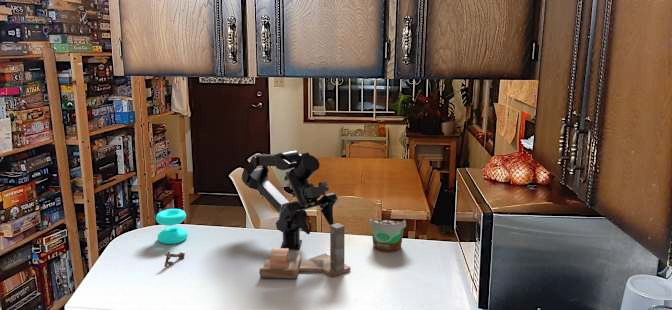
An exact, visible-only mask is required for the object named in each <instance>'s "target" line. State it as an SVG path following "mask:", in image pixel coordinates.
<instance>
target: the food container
mask: <svg viewBox="0 0 672 310" xmlns="http://www.w3.org/2000/svg"><path fill="white" fill-rule="evenodd" d="M368 224H369V226H370V227H371V237H372V245H373V248H374V250H376V251H378V252H382V253H394V252H397V251H399V250H400V249H401V248H402V244H403V237H404V229H405V228H406V227H407V221H406V219H404V220H402V221H395V220H392V219H381V220H379V219H372V218H370V219H369V222H368Z"/></svg>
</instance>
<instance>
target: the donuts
mask: <svg viewBox="0 0 672 310" xmlns="http://www.w3.org/2000/svg"><path fill="white" fill-rule="evenodd" d="M186 218H187V213H186V212H185V210H183V209H180V208H168V209H164V210H161V211H159V212H158V213H157V214H156V215H155V221H156V222H157V223H158V224H160V225H161V226H166V227H165V228H163V229H162V230H160V231H159V233H158V234H157V240H158V241H159V242H160V243H161V244H165V245H174V244H175V245H176V244H179V243H181V242H183V241H185V240H186V239H187V238H188V237H189V236H188V235H189V233H188V231H187V229H185V228H183V227H180V226H177V225H179V224H181V223H183V222H184V221H185V219H186ZM167 226H169V227H167Z"/></svg>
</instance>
